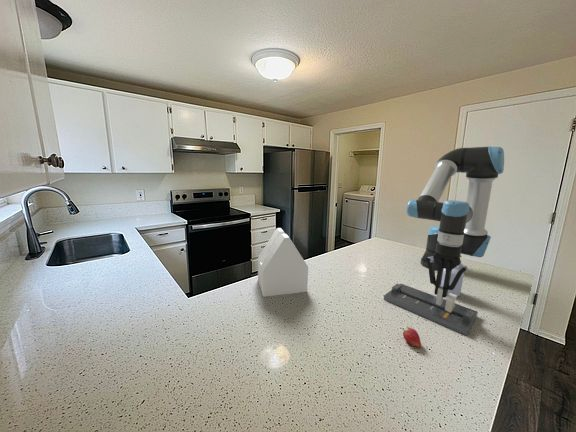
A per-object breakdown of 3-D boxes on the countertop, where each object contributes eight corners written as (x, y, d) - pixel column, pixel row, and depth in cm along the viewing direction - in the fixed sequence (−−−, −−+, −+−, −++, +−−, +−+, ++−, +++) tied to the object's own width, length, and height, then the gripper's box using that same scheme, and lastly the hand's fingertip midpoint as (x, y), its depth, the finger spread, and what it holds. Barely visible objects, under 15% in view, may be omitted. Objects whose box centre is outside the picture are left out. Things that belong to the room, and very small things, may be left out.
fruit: (415, 351, 69) (417, 337, 68) (398, 338, 75) (400, 324, 74) (424, 347, 71) (427, 333, 70) (407, 335, 76) (409, 321, 75)
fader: (447, 305, 89) (449, 292, 88) (454, 308, 87) (457, 295, 86) (443, 310, 86) (445, 297, 85) (451, 313, 84) (453, 300, 83)
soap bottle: (464, 298, 99) (474, 243, 94) (440, 295, 101) (449, 241, 96) (454, 288, 108) (463, 237, 103) (432, 286, 110) (440, 235, 105)
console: (400, 287, 107) (401, 279, 107) (476, 316, 87) (478, 306, 86) (383, 299, 97) (384, 290, 96) (466, 335, 77) (468, 324, 76)
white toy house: (263, 296, 97) (263, 238, 92) (258, 280, 111) (258, 228, 106) (307, 292, 102) (309, 236, 97) (296, 276, 116) (298, 227, 111)
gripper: (425, 241, 86) (416, 299, 91) (468, 251, 77) (456, 315, 82) (432, 237, 91) (423, 293, 96) (474, 246, 82) (462, 307, 87)
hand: (439, 303), depth 89 cm, fingers closed
